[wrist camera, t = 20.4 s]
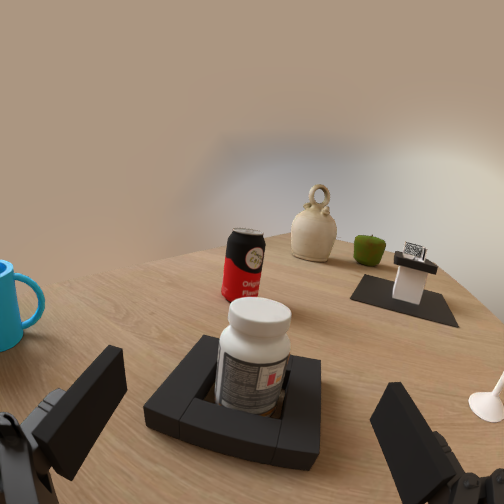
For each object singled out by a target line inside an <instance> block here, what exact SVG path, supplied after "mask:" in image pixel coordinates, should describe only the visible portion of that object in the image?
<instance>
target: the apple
mask: <svg viewBox="0 0 504 504" xmlns="http://www.w3.org/2000/svg"><path fill="white" fill-rule="evenodd" d="M385 247H386V243H385V241H384V240H381V239H379V238H377V237H373V235H372V236H366V235H358V236H357V237H355V241H354V256H353V257H354V258H355V260H356V261H357V262H359V263H361V264H364V265H367V266H375V265H377V264H379V263H380V261H381V258H382V255H383V253H384V250H385Z"/></svg>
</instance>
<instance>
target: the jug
mask: <svg viewBox="0 0 504 504" xmlns="http://www.w3.org/2000/svg"><path fill="white" fill-rule="evenodd" d="M317 189H322V190H323V192H324V194H325V199H324V201H323V202H322V203H320V204H319V203H317V202H316V201H315V200H314V193H315V191H316V190H317ZM309 200H310V202H311V203H306V204H304V206H303V207H304V208H305V210H304V211H302V212H300V213H299V214H297V216H296V217H295V219H294V221H293V223H292V227H291V247H292V254H293V255H294V256H295V257H298V258H301V259H304V260H308V261H314V262H326V261H327V259H328V257H329V255H330V253H331V250H332V247H333V245H334V242H335V239H336V235H337V227H336V223H335V221H334V219H333V218H332V217H331V216H330V215H329V214H330V212H329V207H328V206H327V207H325V206H326V205H327V204H328V203H329V201H330V193H329V190H328V189H327V188H326V187H325V186H324V185H321V184H319V185H315V186H314V187H312V188H311V190H310V192H309ZM324 207H325V208H324Z"/></svg>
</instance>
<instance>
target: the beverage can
mask: <svg viewBox="0 0 504 504" xmlns="http://www.w3.org/2000/svg"><path fill="white" fill-rule="evenodd" d="M263 234H264V233H263V232H261V231H257V230H252V229H246V228H233V232H232V234H231V235H230V236H229V238H228V241H227V248H226V256H225V264H224V273H223V281H222V290H221V292H222V295H223V296H224V297H225V298H226V300H228V301H229V302H232V301H234V300H236V299H239V298H243V297H257V296H258V290H259V284H260V278H261V271H262V265H263V259H264V252H265V246H266V243H265V241H264V238H263Z"/></svg>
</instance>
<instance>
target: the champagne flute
mask: <svg viewBox="0 0 504 504" xmlns="http://www.w3.org/2000/svg"><path fill="white" fill-rule="evenodd" d="M503 387H504V372H503V373H502V375H501V377H500V379H499V381H498V383H497V385H496V386H495V388H494V390H493V392H477V393H473V394H472V395H471V396H470V397H469V405H470V407H471V409H472V410H473V412H474V413H475V414H476V415H477V416H479V417H480V418H482V419H484V420H486V421H489V422H499V421H501V420H503V419H504V405H503V403H502V401H501V399H500V397H499V394H500V392H501V391H502V389H503Z"/></svg>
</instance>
